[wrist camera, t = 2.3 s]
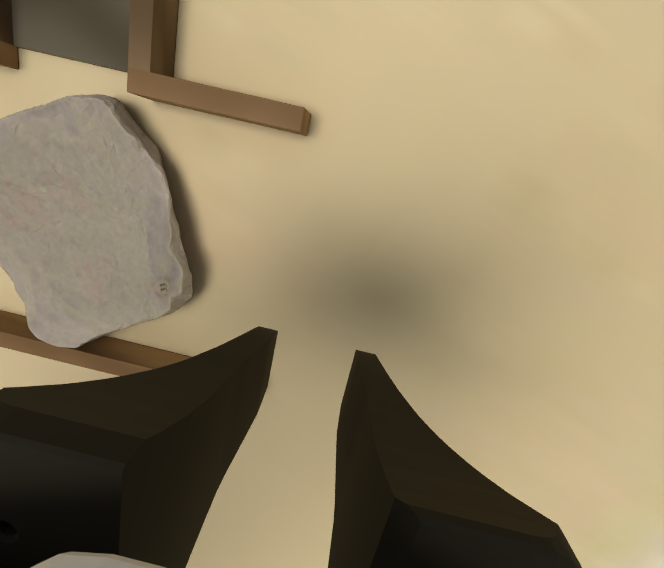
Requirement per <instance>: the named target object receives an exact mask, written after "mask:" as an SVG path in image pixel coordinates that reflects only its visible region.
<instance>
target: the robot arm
mask: <svg viewBox="0 0 664 568" xmlns="http://www.w3.org/2000/svg"><path fill="white" fill-rule="evenodd" d="M277 333H278V331H276V330H272V329H268V328H263V327H256V328H254V329H252V330H250V331H248V332H246V333H244V334H243V335H241V336H239V337H237V338H235V339H233V340H231V341H228V342H226V343H224V344H222V345H220V346H218V347H216V348H213V349H211V350H208V351H206V352H204V353H201V354H199V355H196V356H194V357H191V358H189V359H186V360H183V361H180V362H177V363H173V364H170V365H167V366H163V367H160V368H156V369H152V370H147V371H143V372H138V373H134V374H129V375H125V376H120V377H114V378H108V379H101V380H95V381H87V382H79V383H70V384H59V385H44V386H29V387H11V388H3V389H1V390H0V568H185V567H186V565H187V562H188V560H189V557H190V555H191V552H192V550H193V547H194V545H195V542H196V540H197V538H198V535H199V533H200V530H201V528H202V525H203V523H204V520H205V518H206V516H207V513H208V511H209V508H210V506H211V504H212V501H213V499H214V496H215V494H216V492H217V490H218V487H219V485H220V483H221V481H222V479H223V477H224V475H225V473H226V471H227V469H228V468H229V466H230V464H231V462H232V460H233V458H234V456H235V455H236V453H237V451H238V449H239V447H240V445H241V443H242V441H243V440H244V438H245V436H246V434H247V432H248V430H249V428H250V426H251V424H252V423H253V421H254V419H255V417H256V415H257V413H258V410H259V408H260V405H261V402H262V400H263V397H264V394H265V392H266V389H267V386H268V381H269V375H270V370H271V365H272V360H273V354H274V349H275V344H276V339H277ZM328 568H582V567H581V565H580V563H579V561H578V560H577V558H576V556H575V554H574V552H573V550H572V549H571V547H570V545H569V543H568V541H567V539H566V538H565V536H564V534H563V532H562V531H561V529H560V527H559V525H558V524H556V523H555V522H553V521H551V520H550V519H548V518H547V517H545V516H543V515H542V514H540V513H539V512H537V511H535V510H534V509H532V508H531V507H529V506H528V505H526V504H524V503H523V502H521V501H520V500H518V499H516V498H515V497H513V496H512V495H510V494H509V493H507V492H506V491H504V490H503V489H502V488H500V487H499V486H498V485H496V484H495V483H493V482H492V481H491V480H489V479H488V478H487V477H485V476H484V475H482V474H481V473H480V472H479V471H477V470H476V469H475V468H474V467H472V466H471V465H470V464H469V463H467V462H466V461H465V460H464V459H463V458H461V457H460V456H459V455H458V454H457V453H456V452H455V451H453V450H452V449H451V448H450V447H449V446H448V445H447V444H446V443H444V442H443V441H442V440H441V439H440V438H439V437H438V436H437V435H436V434H435V433H434V432H433V431H432V430H431V429H430V428H429V427H428V426H427V424H426V423H425V422H424V421H423V420H422V419H421V418H420V417H419V416H418V415H417V413H416V412H415V411H414V410H413V408H412V407H411V406H410V405H409V403H408V402H407V401H406V400H405V398H404V397H403V396H402V394H401V393H400V392H399V390H398V389H397V387H396V386H395V384H394V383H393V382H392V380H391V379H390V377H389V375H388V374H387V372H386V371H385V369H384V368H383V366H382V364H381V363H380V361H379V359H378V358H377V356H376V355H375V354H371V353H367V352H363V351H359V350H356V352H355V356H354V359H353V363H352V367H351V370H350V374H349V378H348V381H347V385H346V389H345V392H344V396H343V400H342V404H341V409H340V416H339V422H338V429H337V444H336V481H335V510H334V523H333V531H332V539H331V547H330V556H329V564H328Z"/></svg>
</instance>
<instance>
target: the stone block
mask: <svg viewBox="0 0 664 568" xmlns="http://www.w3.org/2000/svg"><path fill="white" fill-rule="evenodd" d="M0 266H1V267H2V268H3V270H4V271H5V272H6V273H7V274H8V276H9V277H10V278H11V280H12V281H13V283H14V286H15V290H16V292H17V293H18V295H19V296H20V298H21V299H22V300H23V302H24V304H25V308H26V317H27V323H28V327H29V329H30V331H31V332H32V333H33V334H34V335H35V337H37V338H38V339H40V340H42V341H44V342H46V343H48V344H51V345H54V346H57V347H68V348H77V347H79V346H82V345H83V344H85V343H87V342H90V341H92V340H95V339H98V338H100V337H103V336H105V335H107V334H109V333H111V332H113V331H116V330H119V329H124V328H127V327H130V326H133V325H135V324H138V323H141V322H145V321H149V320H153V319H156V318H159V317H162V316H165V315H168V314H170V313H172V312H174V311H176V310H177V309H179V308H180V307H181V306H183V305H184V304H185V303H186V302H187V301H188V300H189V299H191V297H192V294H193V288H192V274H191V272H190V270H189V266H188V262H187V258H186V254H185V252H184V249H183V246H182V242H181V238H180V229H179V224H178V222H177V220H176V216H175V213H174V209H173V206H172V197H171V194H170V190H169V186H168V180H167V179H166V175H165V171H164V170H163V165H162V157H161V155H160V152H159V149H158V148H157V146H156V145H155V144H154V143H153V142H152V141H151V140H150V138H149V137H148V136H147V135H146V134H145V133H144V131H143V130H142V129H141V128H140V126H139V125H138V124H137V123H136V122H135V121H134V120H133V118H132V117H131V115H130V113H129V112H128V111H127V110H126V109H125V107H124V106H123V104H122V103H121V102H119V100H117V99H116V98H113V97H109V96H106V95H98V94H96V95H75V96H66V97H64V98H61V99H58V100H55V101H52V102H50V103H48V104H45V105H41V106H38V107H33V108H30V109H26V110H23V111H20V112H17V113H15V114H12V115H9V116H7V117H4V118H2V119H0Z"/></svg>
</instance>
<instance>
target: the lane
mask: <svg viewBox="0 0 664 568" xmlns="http://www.w3.org/2000/svg"><path fill="white" fill-rule="evenodd" d="M178 3H179V0H0V65H2V66H6V67H10V68H15V69H18V50H17V47H20V48H24V49H28V50H33V51H37V52H41V53H46V54H50V55H55V56H59V57H63V58H68V59H72V60H76V61H81V62H85V63H89V64H94V65H98V66H102V67H107V68H111V69H116V70H120V71H124V72H128V78H127V92H129V93H132V94H135V95H138V96H141V97H144V98H147V99H150V100H154V101H158V102H162V103H167V104H171V105H175V106H180V107H184V108H188V109H193V110H197V111H201V112H206V113H210V114H214V115H219V116H223V117H227V118H232V119H236V120H240V121H245V122H249V123H253V124H258V125H262V126H266V127H271V128H275V129H279V130H284V131H288V132H292V133H297V134H301V135H305V136H307V133H308V128H309V122H310V117H311V114H310V113H309V112H308V111H307V110H306V109H305V108H304V107H300V106H295V105H291V104H287V103H282V102H278V101H273V100H269V99H265V98H260V97H256V96H252V95H247V94H243V93H239V92H234V91H230V90H225V89H221V88H217V87H212V86H208V85H204V84H199V83H195V82H191V81H186V80H182V79H177V78H173V73H174V59H175V45H176V31H177V17H178ZM0 347H4V348H8V349H12V350H16V351H20V352H24V353H28V354H32V355H37V356H41V357H45V358H49V359H53V360H57V361H61V362H65V363H69V364H73V365H77V366H81V367H85V368H89V369H94V370H98V371H102V372H106V373H110V374H114V375H118V376H125V375H129V374H134V373H138V372H143V371H147V370H152V369H156V368H160V367H163V366H167V365H170V364H173V363H177V362H180V361H183V360H186V359H189V358H191V357H188V356H184V355H180V354H176V353H172V352H168V351H164V350H160V349H156V348H152V347H147V346H143V345H139V344H135V343H131V342H127V341H123V340H119V339H115V338H111V337H106V336H103V337H100V338H98V339H95V340H92V341H90V342H87V343H85V344H83V345H82V346H79V347H77V348H68V347H57V346H54V345H51V344H48V343H46V342H44V341H42V340H40V339H38V338H37V337H35V335H34V334H33V333H32V332H31V331H30V329H29V327H28V323H27V317H24V316H20V315H16V314H12V313H8V312H4V311H0Z"/></svg>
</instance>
